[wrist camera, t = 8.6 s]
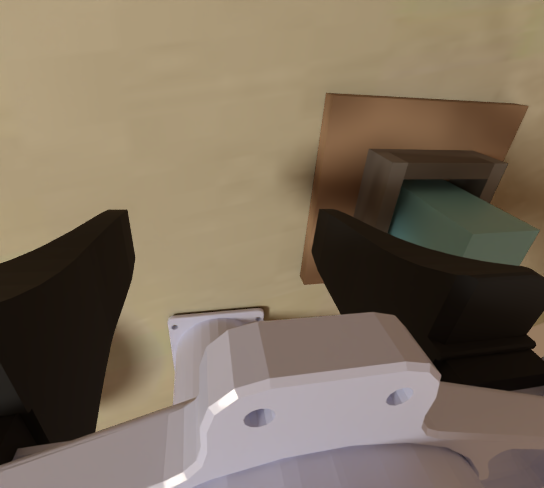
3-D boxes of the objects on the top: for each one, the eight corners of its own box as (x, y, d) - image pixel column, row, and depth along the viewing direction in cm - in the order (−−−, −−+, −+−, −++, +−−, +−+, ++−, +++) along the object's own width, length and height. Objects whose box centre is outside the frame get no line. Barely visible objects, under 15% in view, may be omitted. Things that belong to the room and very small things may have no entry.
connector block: (421, 225, 24) (504, 291, 18) (375, 227, 24) (444, 297, 17) (438, 176, 22) (539, 230, 16) (388, 177, 22) (472, 234, 15)
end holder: (443, 265, 29) (476, 295, 26) (300, 275, 26) (315, 310, 23) (513, 103, 22) (573, 113, 18) (326, 93, 19) (355, 102, 16)
